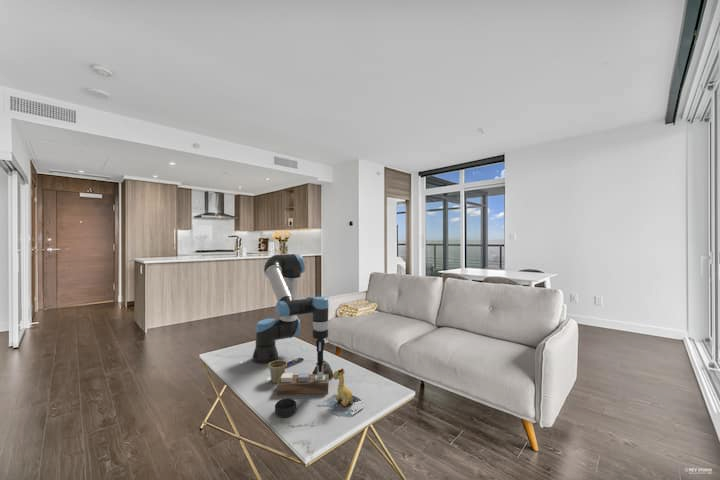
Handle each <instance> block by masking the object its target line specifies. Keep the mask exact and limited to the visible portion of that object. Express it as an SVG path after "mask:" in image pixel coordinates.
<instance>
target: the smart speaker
mask: <svg viewBox="0 0 720 480" xmlns="http://www.w3.org/2000/svg"><path fill="white" fill-rule="evenodd" d="M296 411H297V401H296V400H294V399H292V398H283V399H280V400H277V402H276V403H275V404H274V414H275V415H276V416H277V417H279V418H288V417H291V416H293V415H294V414H295V413H296Z"/></svg>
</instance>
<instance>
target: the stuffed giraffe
mask: <svg viewBox="0 0 720 480" xmlns="http://www.w3.org/2000/svg"><path fill="white" fill-rule="evenodd" d="M344 374H345V369H344V368H340V369H335V371H334V372H333V379H334V380H339V381H338V386H337V394H333V395H331V396H330V397H327V399H325V400H323V403H326V404H317V405H316V406H317V407H319V408H321V407H322V408H328V409H327V411H328V412H330V413H332V414H334V415H336V416H338V417H339V418H341V417H343V418H349V417H351V418H353V417H354V416H355V415H356V414H354V415H352V414H351V412H353V410H352V409H342V408H347V406H348V407H349V404H350V405H353V404H354V403H355V402H358V401H361V400H362V399H361V398H359V397H357V396H355V395H353V393H352V392H351V391H350V389H348V387H346V386H345V383H344V382H345V379H344V378H345V377H344ZM360 399H361V400H360ZM353 402H354V403H353ZM340 407H342V408H340ZM354 410H355V411H357V410H358V409H354ZM355 411H354V412H355Z"/></svg>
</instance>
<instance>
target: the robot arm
mask: <svg viewBox="0 0 720 480" xmlns="http://www.w3.org/2000/svg"><path fill="white" fill-rule="evenodd" d="M305 266H306V264H305V260H304V258H303V256H302V255H301V254H297V253H296V254H295V253H292V254H289V253H287V254H275V255H272V256H271V257H269V258H268V259H267V260H266V262H265V263H264V267H263V273H264V275H265V277H266V278H267V279H268V280H269V282H270V285H271V287H272V291H273V293H274V295H275V298H276V301H277V302H276V304H275V311H276V315H277V317H278V320H276V319H275V318H272V317H270V318H264V319H262V320H261V319H260V320H259V321H257V322H256V324H255V331H254V332H255V346H254V347H255V348H254V351H253V354H252V357H251V358H252V359H251V360H252V362H254V363H256V364H269V363H270V362H272V361H276V360H279V352H278V349H277V344H276V341H278V340H285V339H292V338H296V337H297V336H299V334H300V332H301V331H300V330H301V320H300V319H299V317H298V316H300V315H309V314H311V315H312V322H311V325H312V338H313V339H315V340H316V342H315V345H316V353H317V354H316V356H317V357H316V359H317V360H316V361H317V362H316V363H315V365H316V366H317V365H318V367H317V378H323V363H324V362H325V361H326V360H324V350H325V343H326V341H325V340H326V339H327V338H328V337H329V298H328V297H326V296H315V297H313V296H312V297H311V296H307V297H306V298H303V299H297V296H298V284H299V283H298V282H299V279H300V278H301V276H302V274H303V273H304V272H305V269H306V267H305Z"/></svg>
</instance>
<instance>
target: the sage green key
mask: <svg viewBox="0 0 720 480" xmlns="http://www.w3.org/2000/svg"><path fill="white" fill-rule="evenodd" d="M315 381H326V375H323V378H317V375H315Z"/></svg>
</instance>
